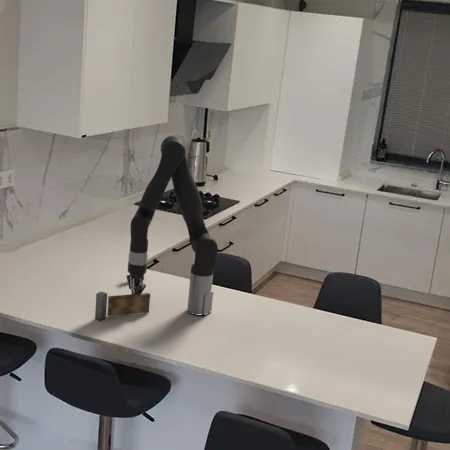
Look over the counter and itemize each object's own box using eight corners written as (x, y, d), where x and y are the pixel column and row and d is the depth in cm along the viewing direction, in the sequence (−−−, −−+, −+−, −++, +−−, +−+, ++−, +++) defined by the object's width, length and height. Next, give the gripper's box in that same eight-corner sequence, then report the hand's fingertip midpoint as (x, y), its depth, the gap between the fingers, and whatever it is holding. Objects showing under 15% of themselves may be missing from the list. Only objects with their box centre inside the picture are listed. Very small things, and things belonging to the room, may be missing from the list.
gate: (108, 316, 274) (109, 297, 272) (107, 314, 276) (108, 296, 273) (149, 312, 282) (150, 294, 279) (147, 311, 283) (148, 292, 281)
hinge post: (105, 319, 273) (107, 293, 270) (101, 321, 270) (102, 295, 267) (99, 317, 274) (101, 291, 271) (94, 319, 271) (96, 293, 268)
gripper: (121, 256, 281) (118, 296, 286) (136, 267, 271) (133, 308, 275) (138, 255, 285) (135, 294, 290) (153, 265, 275) (150, 306, 280)
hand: (134, 301), depth 283 cm, fingers closed
